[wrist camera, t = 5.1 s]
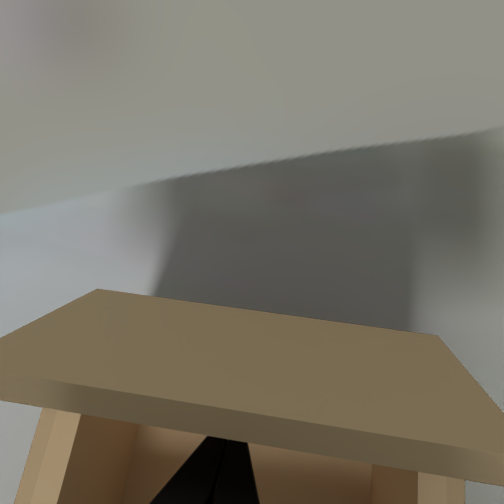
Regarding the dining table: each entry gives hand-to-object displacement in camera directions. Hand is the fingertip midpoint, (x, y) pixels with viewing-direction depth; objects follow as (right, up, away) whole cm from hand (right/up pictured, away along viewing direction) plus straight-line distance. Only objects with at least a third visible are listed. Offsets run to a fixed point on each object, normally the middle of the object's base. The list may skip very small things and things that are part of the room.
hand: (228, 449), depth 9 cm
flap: (0, +1, +2) cm, 2 cm away
